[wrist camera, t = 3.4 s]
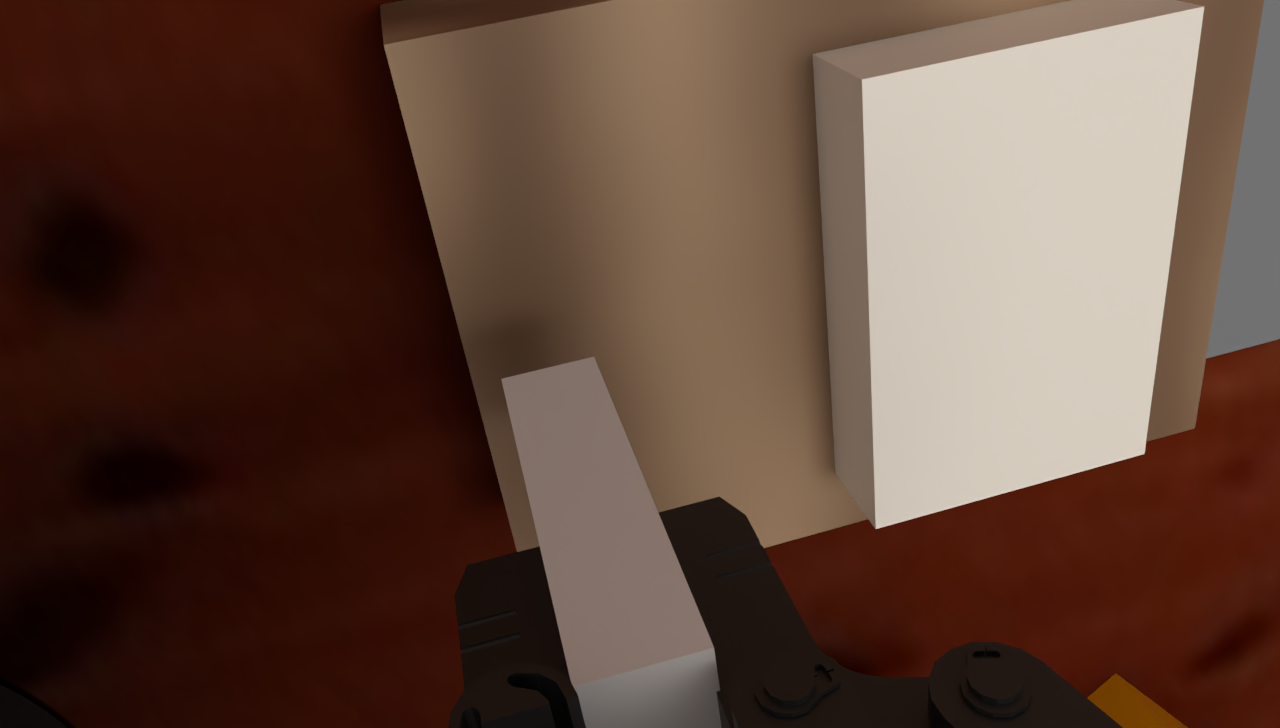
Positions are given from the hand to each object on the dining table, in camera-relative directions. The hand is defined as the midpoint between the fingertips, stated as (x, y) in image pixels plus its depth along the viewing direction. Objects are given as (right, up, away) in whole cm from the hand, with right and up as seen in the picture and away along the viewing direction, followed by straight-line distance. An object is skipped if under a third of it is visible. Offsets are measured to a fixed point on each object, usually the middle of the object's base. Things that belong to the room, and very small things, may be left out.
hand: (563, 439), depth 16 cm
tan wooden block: (+5, +5, +7) cm, 10 cm away
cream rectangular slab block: (+8, +3, +4) cm, 9 cm away
